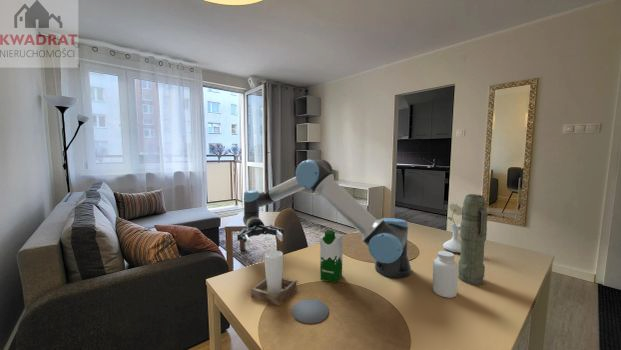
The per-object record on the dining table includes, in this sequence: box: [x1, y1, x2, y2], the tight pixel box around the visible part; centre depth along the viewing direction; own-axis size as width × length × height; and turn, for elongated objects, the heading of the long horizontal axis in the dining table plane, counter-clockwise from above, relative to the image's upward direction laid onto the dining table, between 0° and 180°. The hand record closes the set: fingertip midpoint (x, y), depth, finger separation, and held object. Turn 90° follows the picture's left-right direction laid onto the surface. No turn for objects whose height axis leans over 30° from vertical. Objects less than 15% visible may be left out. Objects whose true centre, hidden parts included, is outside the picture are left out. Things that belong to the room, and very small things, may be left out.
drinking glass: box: [264, 250, 284, 295], centre depth 92 cm, size 7×7×15 cm
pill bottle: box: [432, 250, 459, 299], centre depth 92 cm, size 8×8×15 cm
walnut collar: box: [250, 277, 297, 307], centre depth 93 cm, size 12×12×3 cm
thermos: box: [457, 193, 489, 286], centre depth 100 cm, size 9×12×35 cm
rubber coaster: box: [291, 298, 329, 325], centre depth 82 cm, size 12×12×1 cm
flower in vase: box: [442, 202, 462, 254], centre depth 132 cm, size 13×11×25 cm
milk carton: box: [319, 230, 344, 284], centre depth 103 cm, size 9×9×20 cm
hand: (265, 240), depth 101 cm, fingers open, 13 cm apart
